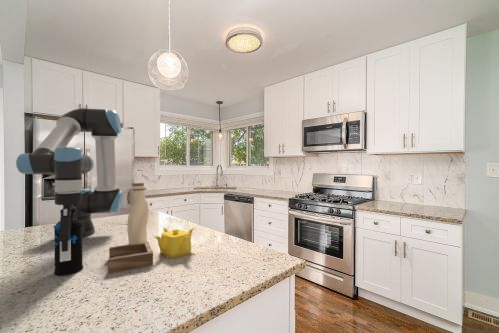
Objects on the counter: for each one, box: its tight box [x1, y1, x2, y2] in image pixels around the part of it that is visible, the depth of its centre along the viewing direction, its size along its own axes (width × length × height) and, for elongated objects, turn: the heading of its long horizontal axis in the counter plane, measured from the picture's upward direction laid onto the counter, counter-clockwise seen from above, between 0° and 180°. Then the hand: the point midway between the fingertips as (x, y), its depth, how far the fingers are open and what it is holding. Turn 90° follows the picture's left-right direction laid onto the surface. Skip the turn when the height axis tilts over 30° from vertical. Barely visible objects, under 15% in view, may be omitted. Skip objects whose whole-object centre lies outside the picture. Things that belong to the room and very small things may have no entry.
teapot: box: [153, 227, 196, 259], centre depth 101 cm, size 15×14×10 cm
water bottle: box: [126, 182, 150, 245], centre depth 112 cm, size 10×9×28 cm
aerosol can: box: [53, 219, 84, 277], centre depth 84 cm, size 8×8×20 cm
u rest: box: [108, 241, 154, 274], centre depth 91 cm, size 14×14×4 cm
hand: (68, 253), depth 84 cm, fingers open, 13 cm apart
